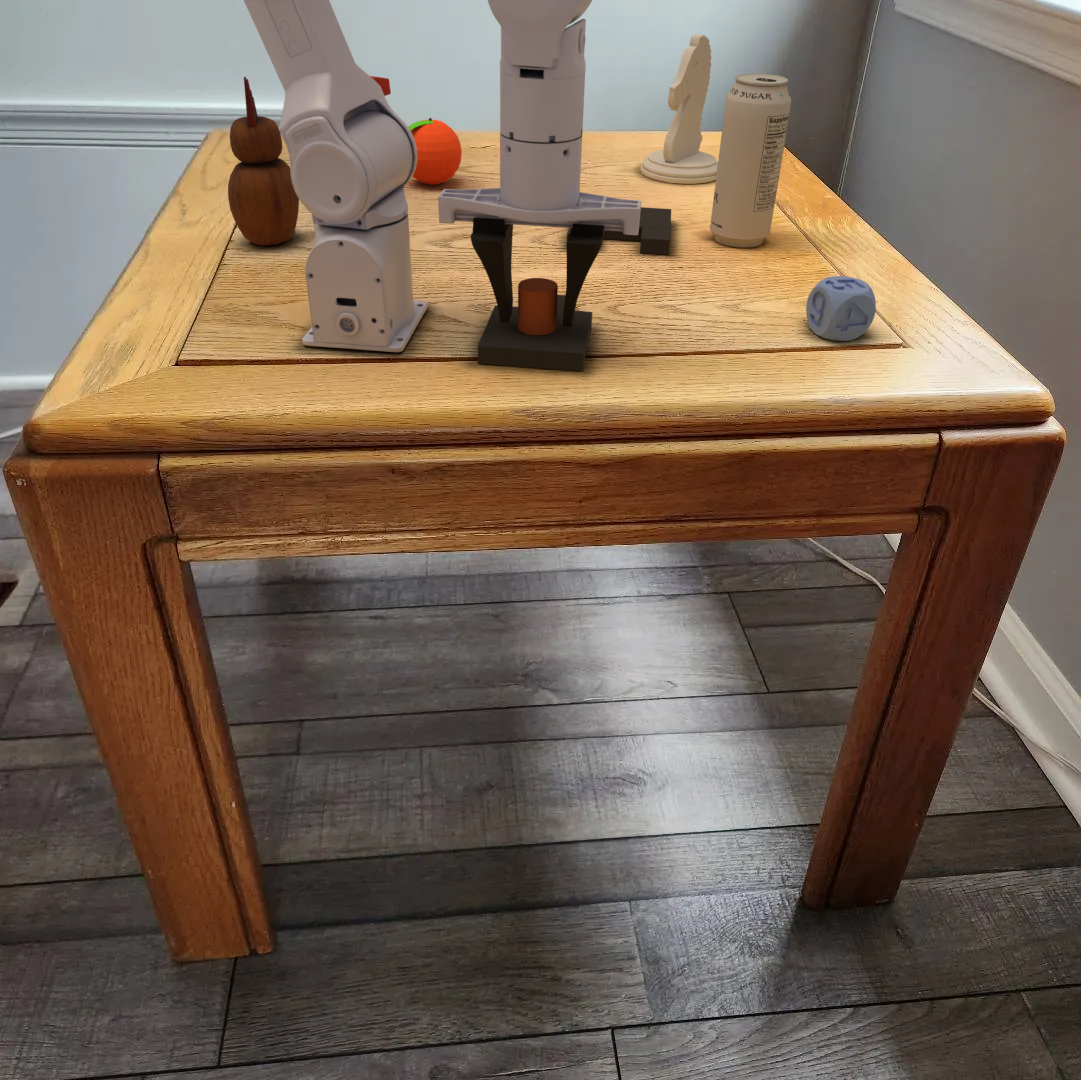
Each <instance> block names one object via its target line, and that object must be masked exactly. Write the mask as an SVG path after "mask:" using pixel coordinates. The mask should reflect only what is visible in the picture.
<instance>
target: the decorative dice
mask: <svg viewBox="0 0 1081 1080" xmlns="http://www.w3.org/2000/svg"><path fill="white" fill-rule="evenodd" d="M876 310H877V302H876V295H875V293H874V291H873V289H872V287H871V285H870V284H869V283H868V282H866V281H864V280H862V279H860V278H857V277H851V276H846V275H845V276H843V275H833V276H827V277H825V278H822V279H821V280H820V281H819V282H817V283H816V284H815V285H814V287H813V288H812V289H811V291H810V293H809V294H808V297H807V299H806V308H805V312H806V313H805V315H806V319H807V324H808V326H809V329H810V330H811V331H812V332H813V333H814V334H815V335H816V336H818V337H820V338H823V339H826V340H829V341H834V342H835V341H836V342H848V341H853V340H856V339H858V338H859V337H860V336H862V335H863V334H865V333H866V331H868V329H870V327H871V325H872V323H873V321H874V319H875V316H876Z"/></svg>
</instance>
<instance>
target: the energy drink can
mask: <svg viewBox="0 0 1081 1080" xmlns="http://www.w3.org/2000/svg"><path fill="white" fill-rule="evenodd" d="M734 80H735V81H734V83H733V86H732V87H731V89H730V90H729V91H728V93H727V94H726V97H725V104H724V105H725V106H724V114H723V121H722V130H721V136H720V145H719V152H718V159H717V160H718V161H717V162H718V167H717V175H716V180H715V183H714V184H715V185H714V193H713V200H712V208H711V216H710V223H709V230H710V231H711V232H712V233H713V234H714V236H713V239H714V240H715V241H716V242H717V243H719V244H721V245H724V246H726V247H727V246H728V247H732V248H742V249H743V248H755V247H758V246H761V245H762V244H763V243H764V240H765V238H767V237H768V236H769V235H770V234H771V229H772V222H773V217H774V211H775V205H776V198H777V194H778V193H777V192H778V186H779V181H780V174H781V168H782V161H783V155H784V148H785V144H786V137H787V131H788V125H789V118H790V113H791V107H792V97H791V95H790V92H789V89H788V83H789V79H788V78H786V77H784V76H782V75H777V74H771V73H741V74H738V75H735V78H734Z"/></svg>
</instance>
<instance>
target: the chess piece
mask: <svg viewBox="0 0 1081 1080" xmlns="http://www.w3.org/2000/svg"><path fill="white" fill-rule="evenodd" d="M711 67H712V49H711V45H710V38H708V36H706V35H705V34H700V33H694V34H692V35H691V36H690V41H689V45H687V46H686V47H685V49H684V50H683V53H682V55H681V58H680V62H679V66H678V69H677V73H676V76H675V78H674V79H673V82H672V83H671V85H670V86H669V91H668V92H669V93H668V98H667V99H668V100H667V105H668V108H669V110H670V111H674V112H675V113H674V116H673V118H672V120H671V122H670V125H669V127H668V131H667V132H666V134H665V138H664V141H663V149H659V150H653V151H652V152H649V153H648V154H647V156H646V157H645V158H643V160H642V162H641V165H640V173H641V174H642V175H643V176H645V177H647V178H649V179H651V180H655V181H659V182H665V183H670V184H671V183H672V184H679V185H680V184H681V185H682V184H683V185H684V184H685V185H691V184H692V185H693V184H694V185H695V184H697V185H698V184H705V183H711V182H713V181H716V175H717V167H718V161H717V160H718V159H717V157H716V156H714V155H712V154H710V153H708V152H704V151H700V148H701V144H702V141H703V135H702V128H701V126H702V116H703V111H704V106H705V103H706V99H707V93H708V90H709V85H710V78H711Z"/></svg>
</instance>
